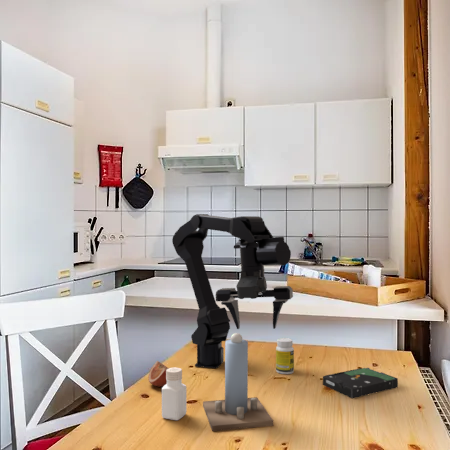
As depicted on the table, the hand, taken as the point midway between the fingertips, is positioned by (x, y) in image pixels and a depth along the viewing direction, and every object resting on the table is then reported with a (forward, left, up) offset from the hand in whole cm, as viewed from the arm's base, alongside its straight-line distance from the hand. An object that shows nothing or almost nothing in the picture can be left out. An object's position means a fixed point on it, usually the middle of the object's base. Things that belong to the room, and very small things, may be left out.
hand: (256, 328), depth 114 cm
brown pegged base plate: (+1, -22, -13) cm, 25 cm away
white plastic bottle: (-11, -26, -13) cm, 31 cm away
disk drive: (+25, +3, -14) cm, 28 cm away
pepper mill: (+1, -21, -12) cm, 24 cm away
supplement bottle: (+6, +8, -13) cm, 17 cm away
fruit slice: (-21, -10, -13) cm, 27 cm away
